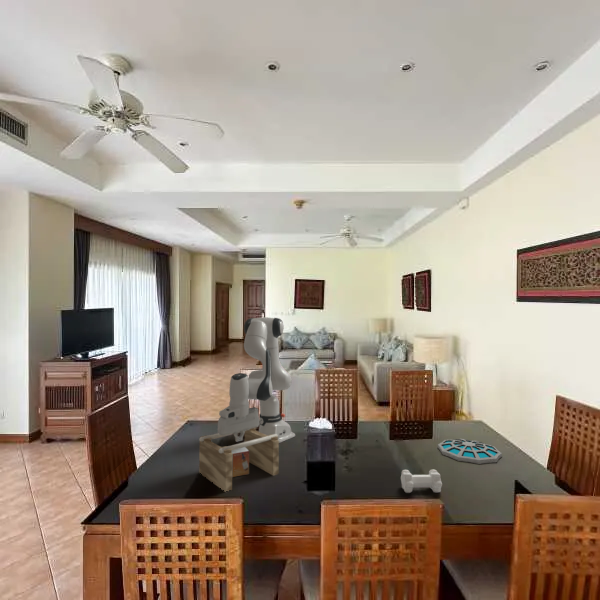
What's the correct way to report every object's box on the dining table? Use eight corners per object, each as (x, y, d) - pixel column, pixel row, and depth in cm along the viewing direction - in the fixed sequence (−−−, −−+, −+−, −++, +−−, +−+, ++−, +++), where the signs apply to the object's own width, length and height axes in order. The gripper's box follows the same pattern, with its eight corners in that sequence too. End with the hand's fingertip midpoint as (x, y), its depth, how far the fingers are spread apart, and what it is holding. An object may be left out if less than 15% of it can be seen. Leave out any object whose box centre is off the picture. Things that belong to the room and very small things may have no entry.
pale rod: (254, 428, 191) (254, 424, 191) (256, 429, 190) (256, 425, 190) (198, 441, 172) (198, 437, 172) (200, 442, 171) (200, 438, 171)
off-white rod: (276, 437, 178) (276, 433, 178) (278, 438, 176) (278, 434, 176) (217, 453, 158) (217, 448, 158) (220, 454, 157) (220, 449, 157)
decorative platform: (459, 466, 182) (459, 456, 182) (427, 445, 211) (427, 436, 211) (515, 461, 189) (515, 451, 189) (476, 441, 217) (476, 432, 217)
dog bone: (435, 487, 162) (434, 467, 163) (443, 495, 153) (442, 474, 154) (400, 487, 162) (399, 467, 163) (406, 495, 153) (405, 474, 154)
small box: (232, 477, 169) (232, 453, 170) (228, 472, 174) (228, 449, 175) (249, 474, 173) (249, 450, 173) (245, 469, 178) (245, 446, 178)
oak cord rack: (249, 458, 192) (249, 424, 192) (278, 473, 173) (278, 437, 174) (199, 472, 174) (199, 436, 175) (225, 492, 156) (225, 451, 156)
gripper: (254, 405, 184) (254, 434, 183) (215, 412, 170) (215, 443, 170) (262, 407, 179) (261, 437, 178) (222, 415, 166) (222, 447, 165)
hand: (239, 440), depth 174 cm, fingers closed
